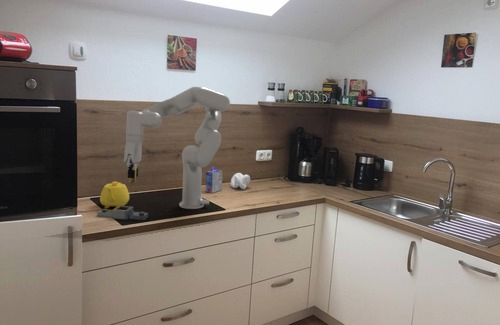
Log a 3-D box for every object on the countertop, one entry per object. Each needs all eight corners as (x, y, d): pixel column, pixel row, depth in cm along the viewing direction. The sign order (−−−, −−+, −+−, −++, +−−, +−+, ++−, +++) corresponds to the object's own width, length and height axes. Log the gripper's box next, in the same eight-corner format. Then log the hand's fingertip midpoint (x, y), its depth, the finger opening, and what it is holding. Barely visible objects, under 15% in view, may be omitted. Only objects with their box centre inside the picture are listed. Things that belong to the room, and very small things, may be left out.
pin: (136, 182, 196) (137, 161, 194) (134, 183, 193) (135, 162, 191) (130, 181, 196) (131, 160, 194) (128, 182, 193) (129, 161, 191)
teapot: (94, 211, 198) (93, 186, 196) (107, 200, 218) (107, 177, 215) (122, 213, 198) (122, 187, 196) (133, 201, 218) (133, 178, 216)
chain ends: (148, 216, 196) (149, 208, 195) (143, 221, 189) (143, 212, 188) (103, 212, 198) (103, 204, 197) (96, 216, 191) (96, 208, 190)
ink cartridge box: (215, 188, 254) (215, 165, 252) (222, 190, 252) (223, 166, 249) (204, 191, 246) (205, 167, 244) (212, 193, 243) (213, 169, 241)
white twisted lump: (244, 185, 267) (245, 171, 265) (253, 189, 257) (254, 175, 255) (228, 186, 262) (229, 172, 260) (237, 191, 251) (238, 176, 250)
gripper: (133, 135, 199) (131, 173, 202) (119, 139, 183) (117, 179, 186) (148, 137, 199) (146, 175, 201) (135, 140, 183) (133, 181, 185)
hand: (132, 177), depth 194 cm, fingers closed on pin, 3 cm apart
